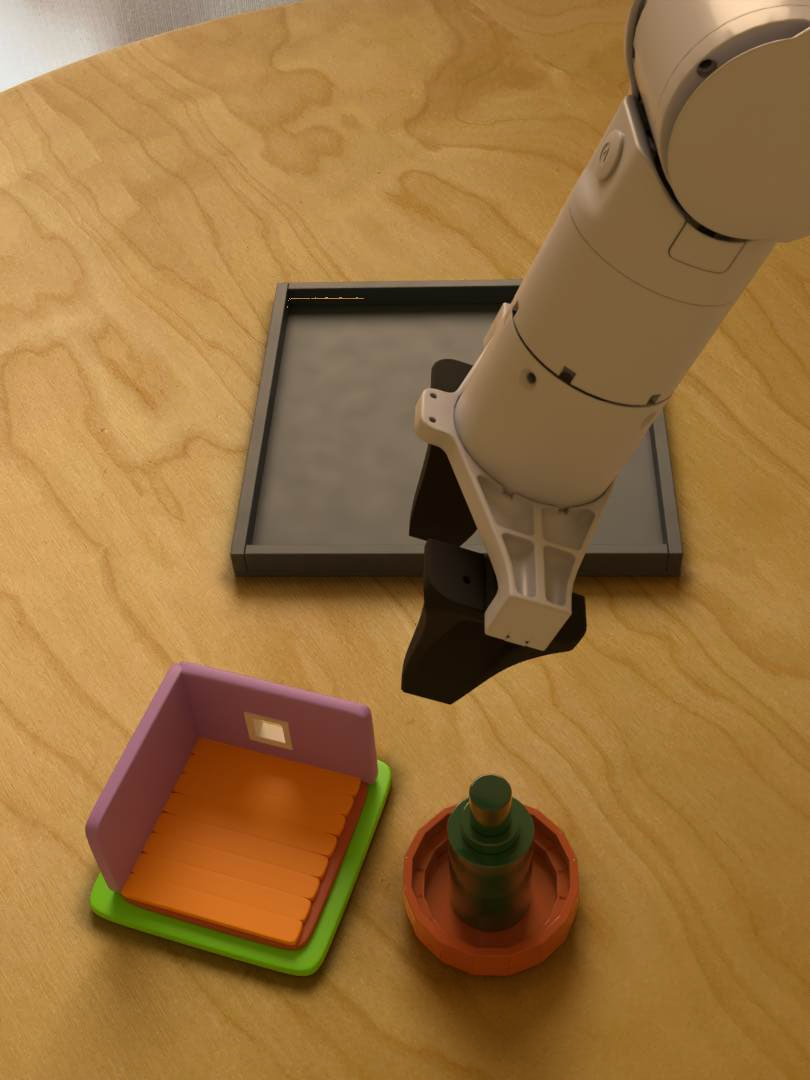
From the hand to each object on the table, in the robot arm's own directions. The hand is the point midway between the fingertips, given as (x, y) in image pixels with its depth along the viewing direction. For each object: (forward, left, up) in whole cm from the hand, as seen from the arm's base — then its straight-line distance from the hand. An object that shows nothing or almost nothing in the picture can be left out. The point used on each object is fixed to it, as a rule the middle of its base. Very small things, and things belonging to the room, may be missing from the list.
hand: (429, 609), depth 50 cm
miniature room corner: (+10, -1, -19) cm, 22 cm away
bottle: (-2, +2, -19) cm, 19 cm away
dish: (-2, +2, -19) cm, 20 cm away
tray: (0, -31, -19) cm, 37 cm away
